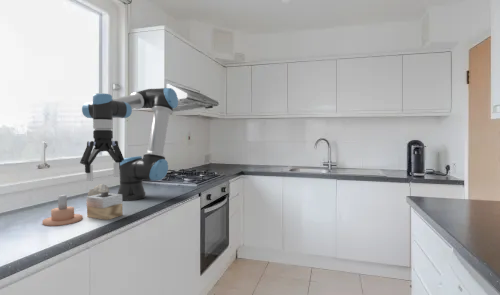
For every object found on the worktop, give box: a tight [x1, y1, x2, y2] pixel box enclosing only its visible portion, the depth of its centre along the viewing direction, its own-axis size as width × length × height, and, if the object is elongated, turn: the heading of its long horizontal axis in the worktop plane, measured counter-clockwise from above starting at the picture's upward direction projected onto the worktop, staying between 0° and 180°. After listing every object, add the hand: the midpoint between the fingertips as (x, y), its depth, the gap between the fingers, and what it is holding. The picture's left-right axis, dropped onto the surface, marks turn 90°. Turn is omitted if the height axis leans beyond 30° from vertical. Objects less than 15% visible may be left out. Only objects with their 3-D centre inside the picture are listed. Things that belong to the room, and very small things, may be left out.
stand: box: [86, 192, 123, 221], centre depth 129 cm, size 8×12×10 cm, turn 67°
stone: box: [87, 183, 111, 197], centre depth 143 cm, size 10×5×12 cm, turn 142°
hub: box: [42, 194, 84, 227], centre depth 122 cm, size 14×14×10 cm
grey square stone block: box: [85, 192, 123, 208], centre depth 129 cm, size 10×10×4 cm
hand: (103, 178), depth 129 cm, fingers open, 13 cm apart
